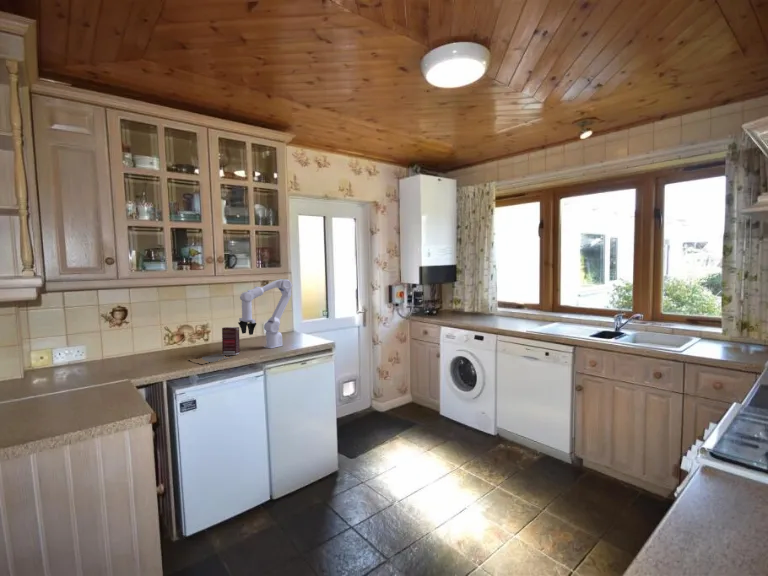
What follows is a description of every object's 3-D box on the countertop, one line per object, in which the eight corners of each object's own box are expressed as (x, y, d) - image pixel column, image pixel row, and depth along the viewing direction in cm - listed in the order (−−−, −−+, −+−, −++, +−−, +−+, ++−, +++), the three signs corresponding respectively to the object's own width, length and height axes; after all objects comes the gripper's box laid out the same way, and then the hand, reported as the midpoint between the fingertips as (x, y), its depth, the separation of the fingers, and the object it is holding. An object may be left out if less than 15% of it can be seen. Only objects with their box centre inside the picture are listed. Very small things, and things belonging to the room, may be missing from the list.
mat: (218, 354, 228) (218, 353, 228) (233, 357, 218) (233, 357, 218) (187, 360, 214) (187, 360, 214) (201, 365, 204) (201, 364, 204)
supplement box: (240, 353, 228) (239, 326, 228) (236, 355, 223) (235, 327, 223) (226, 353, 228) (225, 327, 229) (221, 355, 224) (221, 327, 224)
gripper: (234, 311, 234) (235, 333, 235) (247, 313, 225) (248, 336, 226) (244, 310, 240) (245, 332, 241) (258, 312, 231) (258, 334, 231)
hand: (247, 334), depth 234 cm, fingers open, 7 cm apart
